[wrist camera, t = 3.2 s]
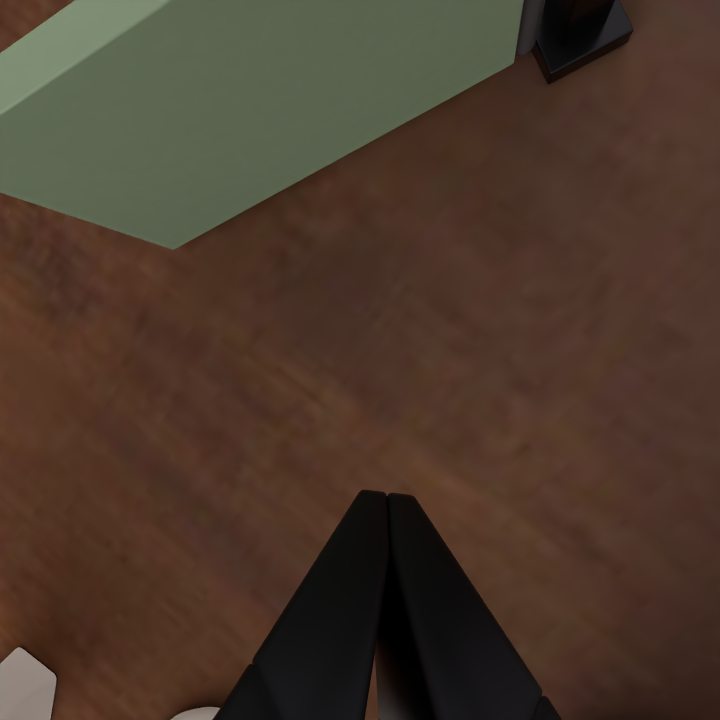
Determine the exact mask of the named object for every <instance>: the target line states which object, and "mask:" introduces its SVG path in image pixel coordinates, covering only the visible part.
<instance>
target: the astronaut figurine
mask: <svg viewBox="0 0 720 720" xmlns="http://www.w3.org/2000/svg"><path fill="white" fill-rule="evenodd" d="M219 709H220V708H217V707H202V708H197V709H192V710H188V711H185V712H182V713H180V714H178V715H176V716H175V717H173V718H172V719H171V720H212V719H213V718H214V716H215V715H216V714H217V712H218V711H219Z"/></svg>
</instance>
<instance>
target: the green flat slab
mask: <svg viewBox="0 0 720 720" xmlns="http://www.w3.org/2000/svg"><path fill="white" fill-rule="evenodd" d="M543 5H544V0H75V1H74V2H72V3H71V4H69V5H68V6H66V7H65V8H64V9H62V10H61V11H59V12H58V13H57V14H55V15H54V16H52V17H51V18H49V19H48V20H47V21H45V22H44V23H42V24H41V25H39V26H38V27H37V28H35V29H34V30H32V31H31V32H30V33H28V34H27V35H25V36H24V37H22V38H21V39H20V40H18V41H17V42H15V43H14V44H12V45H11V46H10V47H8V48H7V49H5V50H4V51H3V52H1V53H0V193H4V194H7V195H10V196H13V197H16V198H19V199H22V200H25V201H28V202H31V203H34V204H37V205H40V206H43V207H46V208H49V209H52V210H55V211H58V212H61V213H64V214H67V215H70V216H73V217H76V218H79V219H82V220H85V221H88V222H91V223H94V224H97V225H100V226H103V227H106V228H109V229H112V230H115V231H118V232H121V233H124V234H127V235H130V236H133V237H136V238H139V239H142V240H145V241H148V242H151V243H155V244H158V245H161V246H164V247H167V248H170V249H173V250H174V249H176V248H178V247H179V246H181V245H183V244H185V243H187V242H189V241H190V240H192V239H194V238H196V237H198V236H200V235H201V234H203V233H205V232H207V231H209V230H210V229H212V228H214V227H216V226H218V225H220V224H221V223H223V222H225V221H227V220H229V219H231V218H232V217H234V216H236V215H238V214H240V213H242V212H243V211H245V210H247V209H249V208H251V207H252V206H254V205H256V204H258V203H260V202H262V201H263V200H265V199H267V198H269V197H271V196H273V195H274V194H276V193H278V192H280V191H282V190H284V189H285V188H287V187H289V186H291V185H293V184H294V183H296V182H298V181H300V180H302V179H304V178H305V177H307V176H309V175H311V174H313V173H315V172H316V171H318V170H320V169H322V168H324V167H326V166H327V165H329V164H331V163H333V162H335V161H336V160H338V159H340V158H342V157H344V156H346V155H347V154H349V153H351V152H353V151H355V150H357V149H358V148H360V147H362V146H364V145H366V144H368V143H369V142H371V141H373V140H375V139H377V138H378V137H380V136H382V135H384V134H386V133H388V132H389V131H391V130H393V129H395V128H397V127H399V126H400V125H402V124H404V123H406V122H408V121H410V120H411V119H413V118H415V117H417V116H419V115H420V114H422V113H424V112H426V111H428V110H430V109H431V108H433V107H435V106H437V105H439V104H441V103H442V102H444V101H446V100H448V99H450V98H452V97H453V96H455V95H457V94H459V93H461V92H462V91H464V90H466V89H468V88H470V87H472V86H473V85H475V84H477V83H479V82H481V81H483V80H484V79H486V78H488V77H490V76H492V75H494V74H495V73H497V72H499V71H501V70H503V69H504V68H506V67H508V66H510V65H512V64H513V63H514V59H515V55H524V54H526V53H528V52H529V51H530V50H531V49H532V48H533V47H534V45H535V41H536V37H537V32H538V28H539V23H540V19H541V14H542V9H543Z"/></svg>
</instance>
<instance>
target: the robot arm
mask: <svg viewBox="0 0 720 720" xmlns="http://www.w3.org/2000/svg"><path fill="white" fill-rule="evenodd" d="M374 655H375V663H376V679H377V694H378V710H379V720H562V719H561V717H560V716H559V714H558V713H557V711H556V710H555V708H554V707H553V705H552V704H551V702H550V701H549V699H548V698H547V697H546V696H542V689H541V687H540V686H539V684H538V683H537V681H536V680H535V678H534V677H533V675H532V674H531V672H530V671H529V669H528V668H527V666H526V665H525V663H524V662H523V660H522V659H521V657H520V656H519V654H518V653H517V651H516V650H515V648H514V647H513V645H512V644H511V642H510V641H509V639H508V637H507V636H506V634H505V633H504V631H503V630H502V628H501V627H500V625H499V624H498V622H497V621H496V619H495V618H494V616H493V615H492V613H491V612H490V610H489V609H488V607H487V606H486V604H485V603H484V601H483V600H482V598H481V597H480V595H479V594H478V592H477V591H476V589H475V587H474V586H473V584H472V583H471V581H470V580H469V578H468V577H467V575H466V574H465V572H464V571H463V569H462V568H461V566H460V565H459V563H458V562H457V560H456V559H455V557H454V556H453V554H452V553H451V551H450V550H449V548H448V547H447V545H446V544H445V542H444V541H443V539H442V538H441V536H440V534H439V533H438V531H437V530H436V528H435V527H434V525H433V524H432V522H431V521H430V519H429V518H428V516H427V515H426V513H425V512H424V510H423V509H422V507H421V506H420V504H419V503H418V501H417V500H416V498H415V497H414V496H412V495H406V494H398V493H390V494H388V496H386V494H385V493H384V492H380V491H371V490H361V491H360V492H359V493H358V495H357V496H356V498H355V499H354V501H353V503H352V504H351V506H350V507H349V509H348V510H347V512H346V514H345V515H344V517H343V518H342V520H341V521H340V523H339V524H338V526H337V528H336V529H335V531H334V532H333V534H332V535H331V537H330V539H329V540H328V542H327V543H326V545H325V546H324V548H323V550H322V551H321V553H320V554H319V556H318V557H317V559H316V561H315V562H314V564H313V565H312V567H311V568H310V570H309V572H308V573H307V575H306V576H305V578H304V579H303V581H302V582H301V584H300V586H299V587H298V589H297V590H296V592H295V593H294V595H293V597H292V598H291V600H290V601H289V603H288V604H287V606H286V608H285V609H284V611H283V612H282V614H281V615H280V617H279V619H278V620H277V622H276V623H275V625H274V626H273V628H272V630H271V631H270V633H269V634H268V636H267V637H266V639H265V640H264V642H263V644H262V645H261V647H260V648H259V650H258V651H257V653H256V655H255V656H254V658H253V660H252V664H249V665H248V667H247V668H246V670H245V671H244V673H243V674H242V676H241V677H240V679H239V681H238V682H237V684H236V685H235V687H234V688H233V690H232V692H231V693H230V694H229V696H228V697H227V699H226V700H225V702H224V703H223V705H222V706H221V708H220V709H219V711H218V712H217V714H216V715H215V716H214V718H213V719H212V720H364V719H365V712H366V706H367V699H368V693H369V687H370V680H371V674H372V667H373V661H374ZM541 696H542V697H541Z"/></svg>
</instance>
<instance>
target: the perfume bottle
mask: <svg viewBox="0 0 720 720" xmlns="http://www.w3.org/2000/svg"><path fill="white" fill-rule="evenodd" d="M55 687H56V676H55V674H54V673H53V672H51V671H50V670H49V669H48V668H46V667H45V666H44V665H43V664H41V663H40V662H39V661H38V660H36V659H35V658H34V657H33V656H31V655H30V654H29V653H27V652H26V651H25V650H24V649H22V648H20V647H18V648H16V649H15V650H14V651H13V652H12V653H11V654H10V655H9V656H8V657H7V658H6V659H5V660H4V661H3V662H2V663H0V720H50V719H51V712H52V706H53V700H54V694H55Z"/></svg>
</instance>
